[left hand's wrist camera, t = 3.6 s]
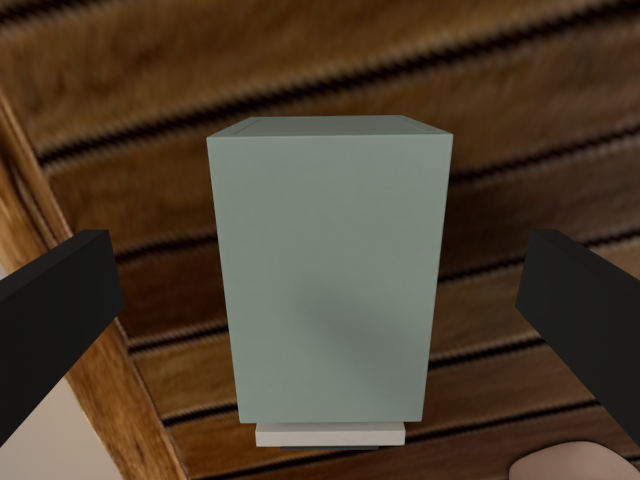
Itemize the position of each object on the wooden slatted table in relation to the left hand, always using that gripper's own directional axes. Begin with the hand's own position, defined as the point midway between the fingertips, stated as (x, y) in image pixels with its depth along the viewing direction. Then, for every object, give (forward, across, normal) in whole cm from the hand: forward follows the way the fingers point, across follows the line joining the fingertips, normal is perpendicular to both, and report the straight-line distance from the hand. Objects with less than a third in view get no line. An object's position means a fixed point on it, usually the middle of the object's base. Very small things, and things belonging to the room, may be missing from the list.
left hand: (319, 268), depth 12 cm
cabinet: (+17, 0, -5) cm, 17 cm away
